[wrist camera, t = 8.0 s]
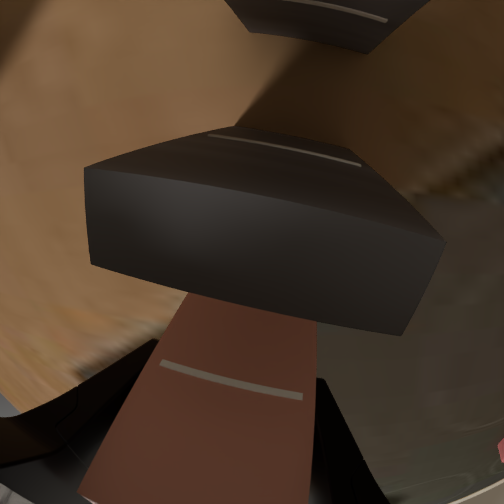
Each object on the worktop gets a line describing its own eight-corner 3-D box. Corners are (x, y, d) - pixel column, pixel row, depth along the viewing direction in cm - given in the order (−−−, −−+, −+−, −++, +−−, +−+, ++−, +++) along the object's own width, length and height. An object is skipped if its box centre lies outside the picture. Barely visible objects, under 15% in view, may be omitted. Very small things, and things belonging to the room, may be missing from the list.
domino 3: (197, 276, 12) (75, 491, 4) (316, 303, 12) (301, 555, 3) (195, 308, 13) (96, 505, 5) (306, 333, 13) (282, 557, 4)
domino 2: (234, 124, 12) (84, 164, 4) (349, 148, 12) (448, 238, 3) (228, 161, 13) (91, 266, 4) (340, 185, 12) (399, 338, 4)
